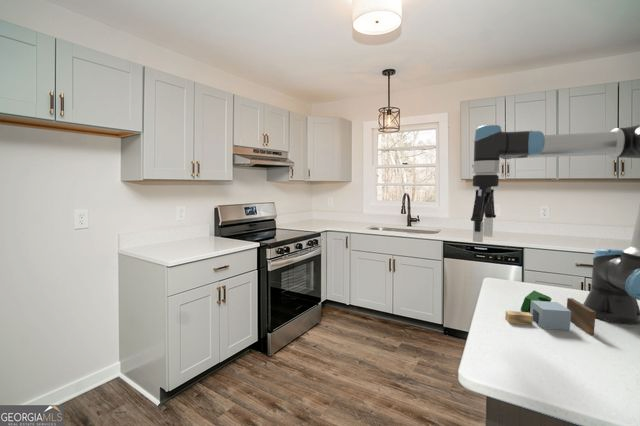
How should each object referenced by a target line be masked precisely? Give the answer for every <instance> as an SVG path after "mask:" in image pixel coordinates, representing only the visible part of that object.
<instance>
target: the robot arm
mask: <svg viewBox="0 0 640 426" xmlns="http://www.w3.org/2000/svg"><path fill="white" fill-rule="evenodd" d="M473 143H474V145H473V146H474V148H473V164H472V165H471V167H472V168H473V169H472V170H473V172H472V173H473V174H474V175H473V176H472V186H473V187H475V188H476V187H478V189H475V195H474V196H475V197H474V202H473V210H472V215H471V217H470V221H471V222H473V228H472V229H473V231H472V232H473V233H472V242H473V243H474V242H475V243H483V242H484V237H488V238H492V237H493V229H494V228H493V227H494V226H493V225H494V219H495V218H496V217H497V215H496V213H495V198H494V196H495V195H494V194H495V193H494V192H495V190H494V188H495V187H496V188H497V187H498V186H499V177H500V176H499V175H498V174H499V173H500V159H502V160H511V159H524V158H526V159H527V158H552V157H553V158H555V157H559V158H560V157H587V156H609V157H610V158H612V159H614V158H615V159H616V158H617V159H618V158H620V159H621V158H626V159H640V124H637V125H632V126H626V127H615V128H613V129H612V130H610V131H602V132H601V131H600V132H599V131H598V132H595V131H594V132H579V133H578V132H577V133H560V134H544V133H543V131H541V130H523V131H522V130H521V131H502V127H501V125H499V124H498V125H497V124H487V125H485V124H484V125H481V126H478V127H477V128H476V129H475V133H474V140H473ZM492 187H493V188H492ZM592 260H593V261H592V273H591V284H590V285H591V286H590V291H589V293H588V294H587V296H586V298H585V299H584V302H583V303H582V304H583V305H585V306H587V307H588V308H590V309H592V310H593V311H595V312H596V317H595V319H596V318H597V319H600V320H604V321H607V322H611V323H616V324H624V325H636V324H640V307H639V303H638V301H640V204H639V205H638V210H637V215H636V219H635V223H634V229H633V233H632V238H631V241H630V245H629V247H627V248H624V249H616V248H615V249H613V248H612V249H611V248H597V249H596V250H595V251H594V253H593V258H592ZM637 300H638V301H637Z"/></svg>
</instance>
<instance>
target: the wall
mask: <svg viewBox="0 0 640 426" xmlns="http://www.w3.org/2000/svg"><path fill="white" fill-rule="evenodd" d="M566 300H567V302H566V308H567V309H569V310H570V311H571V321H570V323H572V324H573V325H575V327H577V328H579V329H580V330H581V331H583V332H584V333H586V334H588V335H595V326H596V312H595V311H593V310H592V309H590V308H588V307H587V306H585V305H583V304H584V303H581V302H580V301H577V300H576V299H574V298H573V297H571V298H570V297H568V298H567V299H566Z"/></svg>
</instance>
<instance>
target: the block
mask: <svg viewBox="0 0 640 426" xmlns="http://www.w3.org/2000/svg"><path fill="white" fill-rule="evenodd" d="M529 313H530V314H531V315H532V316H533V321H537V322H538V323H537V325H538V326H539V328H540V329H548V330H550V329H551V330H562V331H570V329H571V322H570V321H571V311H570V310H569V309H567V307H566V306H564V305H563V304H560V303H559V302H557V301H551V302H547V301H532V300H531V306H530V311H529Z"/></svg>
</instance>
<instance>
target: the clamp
mask: <svg viewBox="0 0 640 426" xmlns="http://www.w3.org/2000/svg"><path fill="white" fill-rule="evenodd" d="M531 300H532V301H547V302H552V298H551V297H550V296H548V295H546V294H543V293H541V292H539V291H537V290H533V291H531V292H530V293H528V294H527V295H526V296H525V297H524V299H523V302H522V304H521V307H520V312H529V313H530V306H531Z"/></svg>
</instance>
